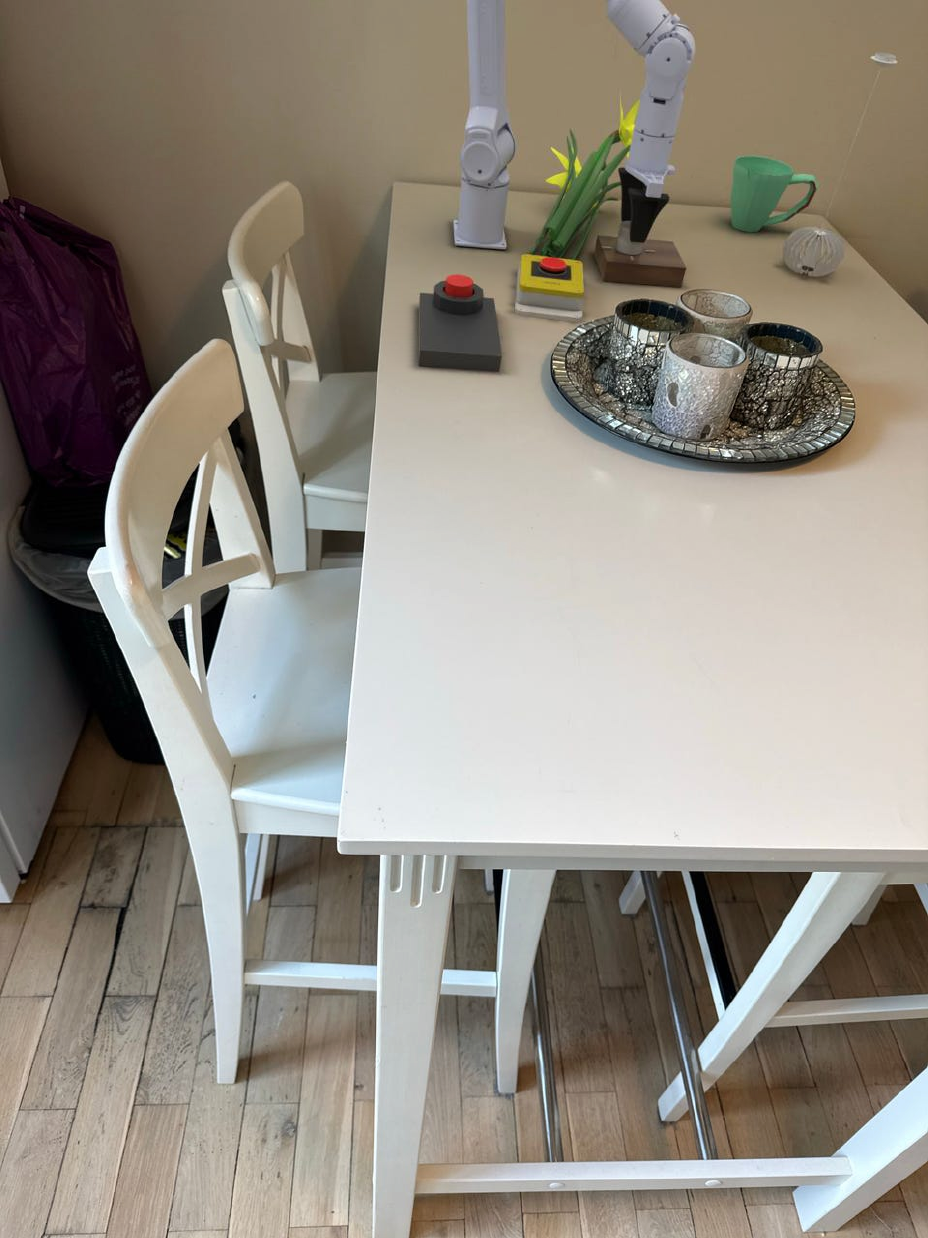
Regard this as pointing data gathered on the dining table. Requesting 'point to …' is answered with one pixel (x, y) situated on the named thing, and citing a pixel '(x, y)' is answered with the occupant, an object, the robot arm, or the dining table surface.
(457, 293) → the light button
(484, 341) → the switch box
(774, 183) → the mug
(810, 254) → the pendant light
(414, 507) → the dining table surface
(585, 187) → the daffodil flowers
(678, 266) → the dimmer panel
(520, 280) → the emergency button
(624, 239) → the dimmer knob
